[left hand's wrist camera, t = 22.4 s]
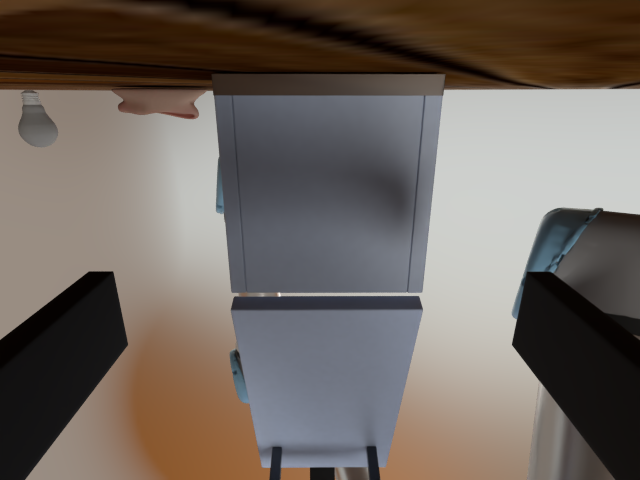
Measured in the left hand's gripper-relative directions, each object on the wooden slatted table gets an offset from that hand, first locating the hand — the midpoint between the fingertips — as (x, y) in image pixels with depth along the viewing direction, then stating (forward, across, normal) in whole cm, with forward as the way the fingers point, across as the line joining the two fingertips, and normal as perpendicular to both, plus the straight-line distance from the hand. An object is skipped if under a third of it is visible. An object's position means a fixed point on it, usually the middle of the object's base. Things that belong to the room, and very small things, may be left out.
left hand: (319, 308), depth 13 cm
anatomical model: (+41, +20, -7) cm, 46 cm away
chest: (+15, 0, -7) cm, 17 cm away
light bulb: (+64, +52, -7) cm, 83 cm away
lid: (+9, 0, +12) cm, 15 cm away
